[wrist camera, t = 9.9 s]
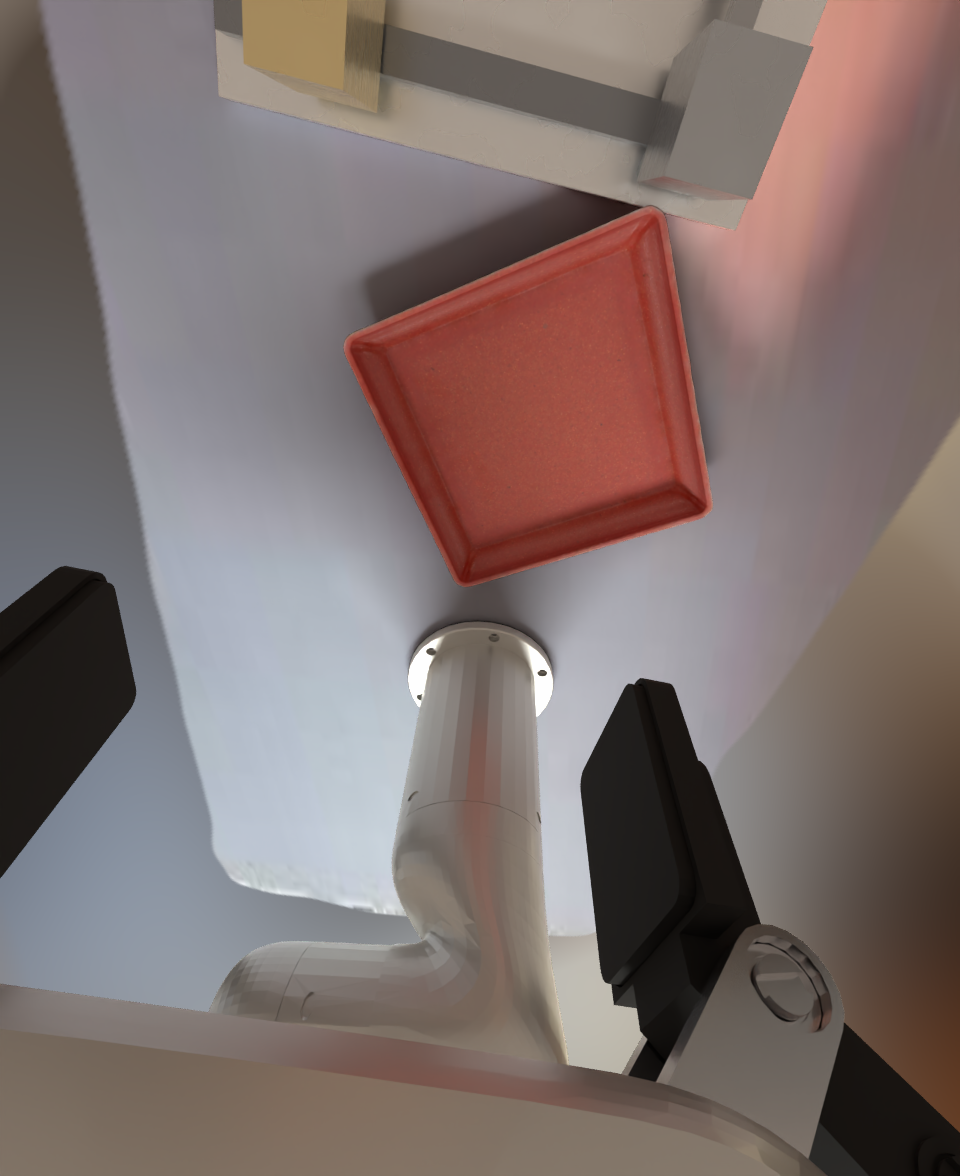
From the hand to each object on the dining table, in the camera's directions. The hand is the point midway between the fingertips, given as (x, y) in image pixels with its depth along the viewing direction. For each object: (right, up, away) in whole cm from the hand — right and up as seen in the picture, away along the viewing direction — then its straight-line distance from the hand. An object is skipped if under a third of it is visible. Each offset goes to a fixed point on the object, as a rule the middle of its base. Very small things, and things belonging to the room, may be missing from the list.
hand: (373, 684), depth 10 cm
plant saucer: (+6, +13, +26) cm, 29 cm away
